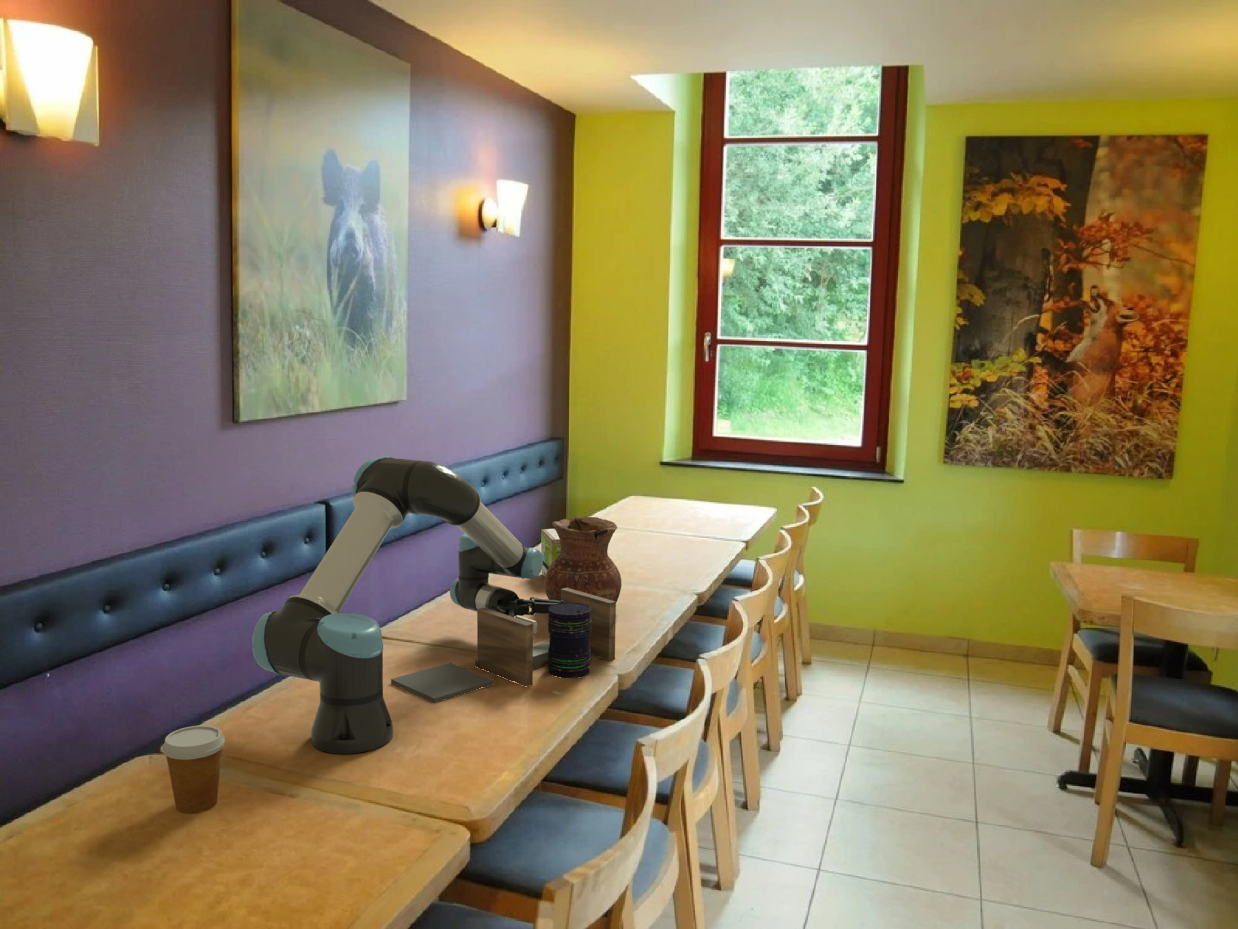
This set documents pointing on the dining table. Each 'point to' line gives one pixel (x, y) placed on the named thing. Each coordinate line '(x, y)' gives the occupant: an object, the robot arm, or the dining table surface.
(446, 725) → the dining table surface
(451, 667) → the charcoal mat
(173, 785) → the disposable coffee cup
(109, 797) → the dining table surface
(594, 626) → the wooden bookend pair
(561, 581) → the jug
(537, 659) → the grey offcut plank
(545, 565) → the tea box
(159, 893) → the dining table surface
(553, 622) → the dark blue cylinder
